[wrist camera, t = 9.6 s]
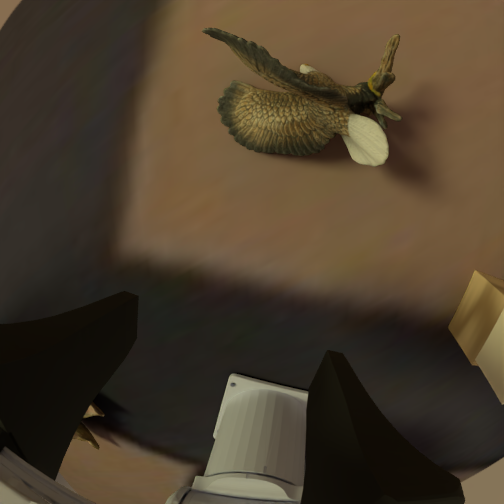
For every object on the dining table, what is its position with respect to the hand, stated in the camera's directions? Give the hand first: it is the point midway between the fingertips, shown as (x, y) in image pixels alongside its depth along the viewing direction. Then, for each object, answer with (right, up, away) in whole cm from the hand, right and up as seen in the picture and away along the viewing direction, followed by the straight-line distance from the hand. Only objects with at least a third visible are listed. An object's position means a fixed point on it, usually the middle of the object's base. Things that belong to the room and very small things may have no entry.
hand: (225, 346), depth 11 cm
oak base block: (+19, -1, +9) cm, 21 cm away
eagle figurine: (+4, +13, +7) cm, 15 cm away
